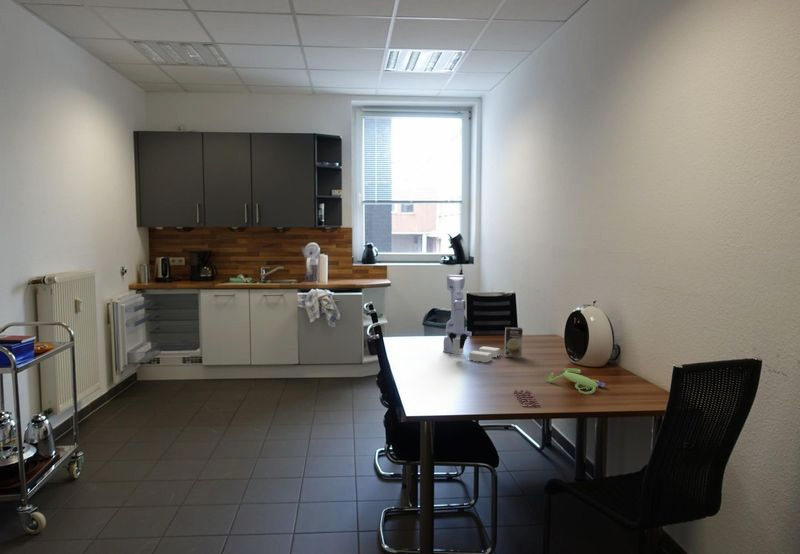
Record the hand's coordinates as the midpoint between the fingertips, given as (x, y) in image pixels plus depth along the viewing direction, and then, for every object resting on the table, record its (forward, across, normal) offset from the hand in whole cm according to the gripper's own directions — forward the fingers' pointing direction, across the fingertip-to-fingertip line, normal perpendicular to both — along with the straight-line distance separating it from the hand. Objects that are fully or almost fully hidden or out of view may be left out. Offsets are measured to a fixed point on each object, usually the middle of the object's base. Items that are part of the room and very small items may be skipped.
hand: (458, 347), depth 295 cm
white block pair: (+7, +10, +14) cm, 19 cm away
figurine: (+7, +64, -13) cm, 66 cm away
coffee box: (+7, +22, +25) cm, 34 cm away
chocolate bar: (+7, +52, -47) cm, 70 cm away
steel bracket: (+3, 0, 0) cm, 3 cm away
